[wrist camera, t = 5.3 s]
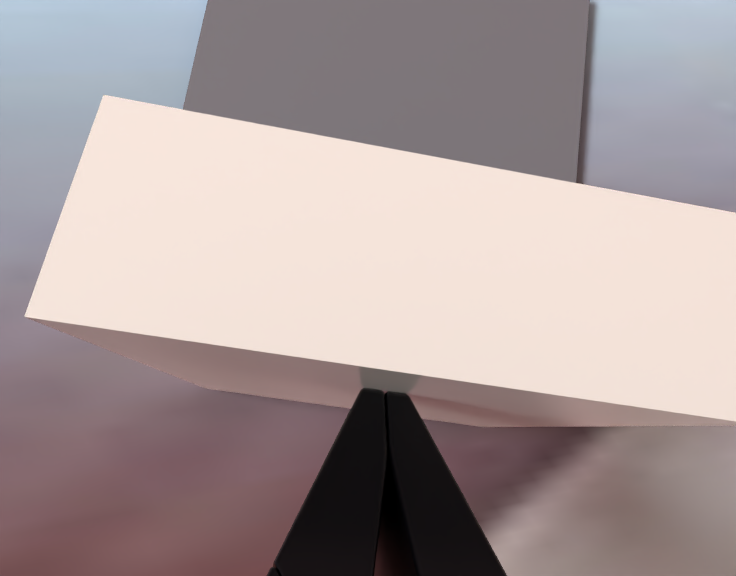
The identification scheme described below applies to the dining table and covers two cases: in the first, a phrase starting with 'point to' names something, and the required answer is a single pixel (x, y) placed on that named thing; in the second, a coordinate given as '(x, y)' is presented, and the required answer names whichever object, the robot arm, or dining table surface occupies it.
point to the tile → (389, 277)
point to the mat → (404, 75)
